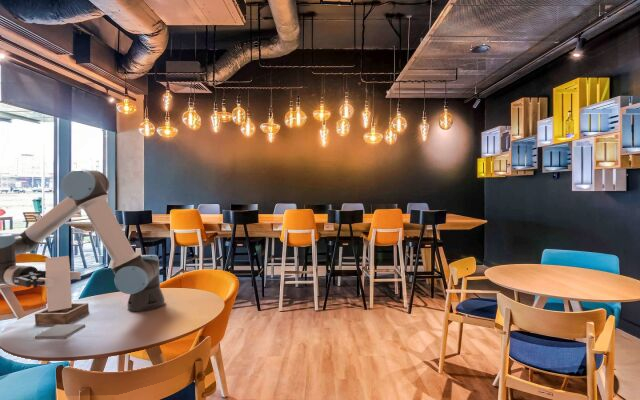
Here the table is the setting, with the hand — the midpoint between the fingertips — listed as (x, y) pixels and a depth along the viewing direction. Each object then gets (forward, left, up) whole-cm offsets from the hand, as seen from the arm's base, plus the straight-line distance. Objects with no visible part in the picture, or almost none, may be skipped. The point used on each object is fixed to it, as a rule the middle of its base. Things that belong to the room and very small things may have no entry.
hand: (66, 279), depth 136 cm
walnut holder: (+14, -16, -20) cm, 30 cm away
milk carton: (+4, -1, -11) cm, 12 cm away
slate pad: (+4, -1, -20) cm, 21 cm away
